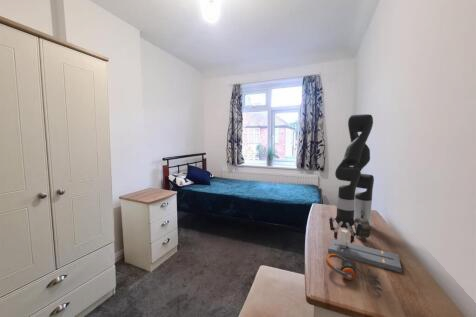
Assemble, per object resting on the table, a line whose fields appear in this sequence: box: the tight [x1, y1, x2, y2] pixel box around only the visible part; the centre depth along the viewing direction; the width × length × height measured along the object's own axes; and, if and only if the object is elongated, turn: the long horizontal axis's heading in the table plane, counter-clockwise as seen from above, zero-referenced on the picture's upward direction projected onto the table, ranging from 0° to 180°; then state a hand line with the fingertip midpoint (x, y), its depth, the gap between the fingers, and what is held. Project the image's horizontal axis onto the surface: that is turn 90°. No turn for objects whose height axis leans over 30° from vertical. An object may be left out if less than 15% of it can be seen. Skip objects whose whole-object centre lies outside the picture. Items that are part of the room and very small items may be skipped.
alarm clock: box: [353, 210, 371, 243], centre depth 114 cm, size 11×5×16 cm, turn 168°
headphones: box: [325, 253, 383, 297], centre depth 82 cm, size 17×5×20 cm
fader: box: [339, 229, 348, 248], centre depth 101 cm, size 5×3×7 cm, turn 148°
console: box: [327, 238, 402, 273], centre depth 97 cm, size 12×28×2 cm, turn 58°
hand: (343, 240), depth 101 cm, fingers open, 6 cm apart
